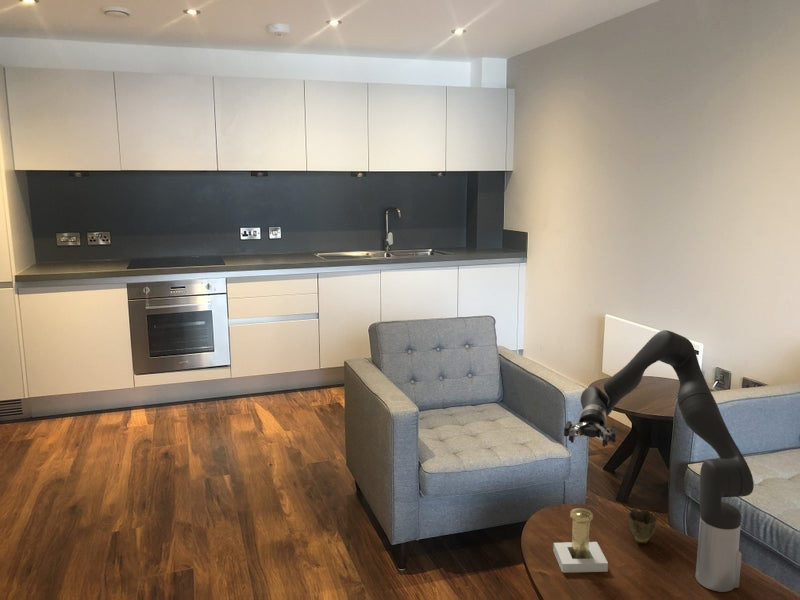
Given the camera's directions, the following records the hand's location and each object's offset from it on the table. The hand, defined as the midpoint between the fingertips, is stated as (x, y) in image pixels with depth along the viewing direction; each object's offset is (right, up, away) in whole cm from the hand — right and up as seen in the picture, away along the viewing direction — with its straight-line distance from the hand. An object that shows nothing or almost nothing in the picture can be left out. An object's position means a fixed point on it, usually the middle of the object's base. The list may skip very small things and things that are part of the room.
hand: (587, 441), depth 184 cm
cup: (+17, -30, +5) cm, 34 cm away
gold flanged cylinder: (-3, -32, -4) cm, 32 cm away
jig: (-3, -32, -4) cm, 32 cm away
